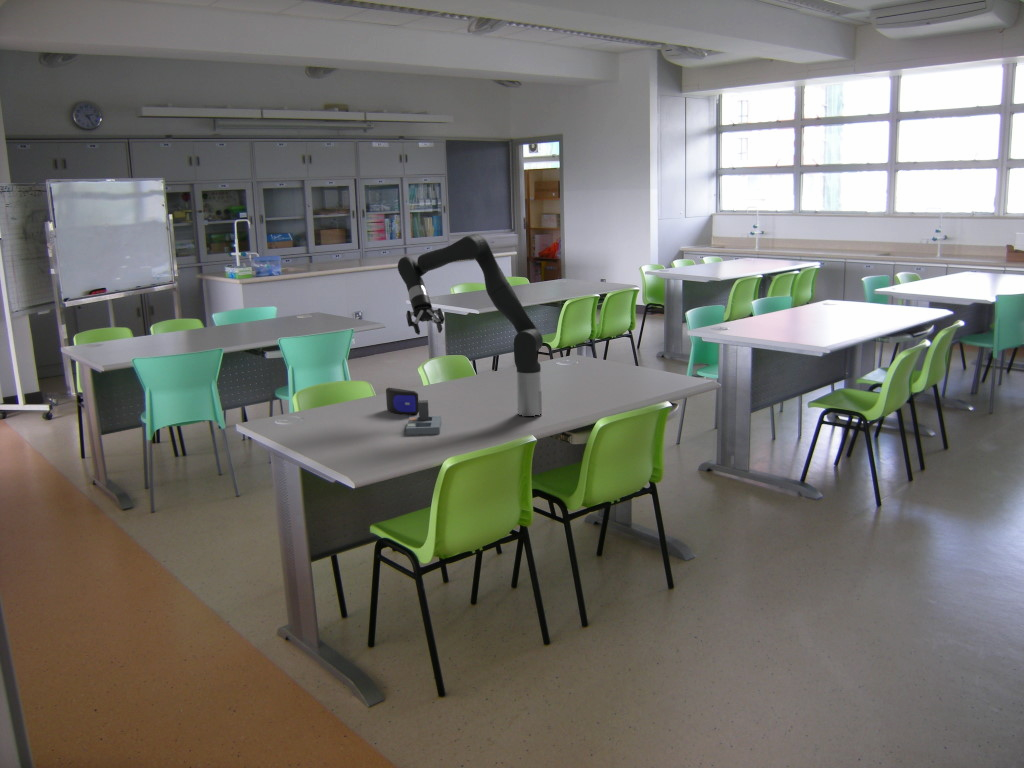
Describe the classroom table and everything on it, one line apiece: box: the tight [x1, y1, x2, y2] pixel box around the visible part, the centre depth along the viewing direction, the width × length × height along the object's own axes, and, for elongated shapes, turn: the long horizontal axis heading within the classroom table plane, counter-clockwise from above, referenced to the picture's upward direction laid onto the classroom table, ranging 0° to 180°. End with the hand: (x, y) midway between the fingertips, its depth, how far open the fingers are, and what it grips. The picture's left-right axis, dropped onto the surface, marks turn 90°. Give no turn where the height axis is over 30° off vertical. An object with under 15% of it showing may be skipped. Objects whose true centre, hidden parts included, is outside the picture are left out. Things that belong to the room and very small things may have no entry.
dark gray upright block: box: [418, 399, 430, 421], centre depth 314 cm, size 4×4×9 cm
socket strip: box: [405, 415, 442, 436], centre depth 311 cm, size 12×16×3 cm
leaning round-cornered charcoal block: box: [385, 387, 419, 416], centre depth 333 cm, size 16×5×9 cm, turn 56°
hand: (429, 332), depth 323 cm, fingers open, 8 cm apart
